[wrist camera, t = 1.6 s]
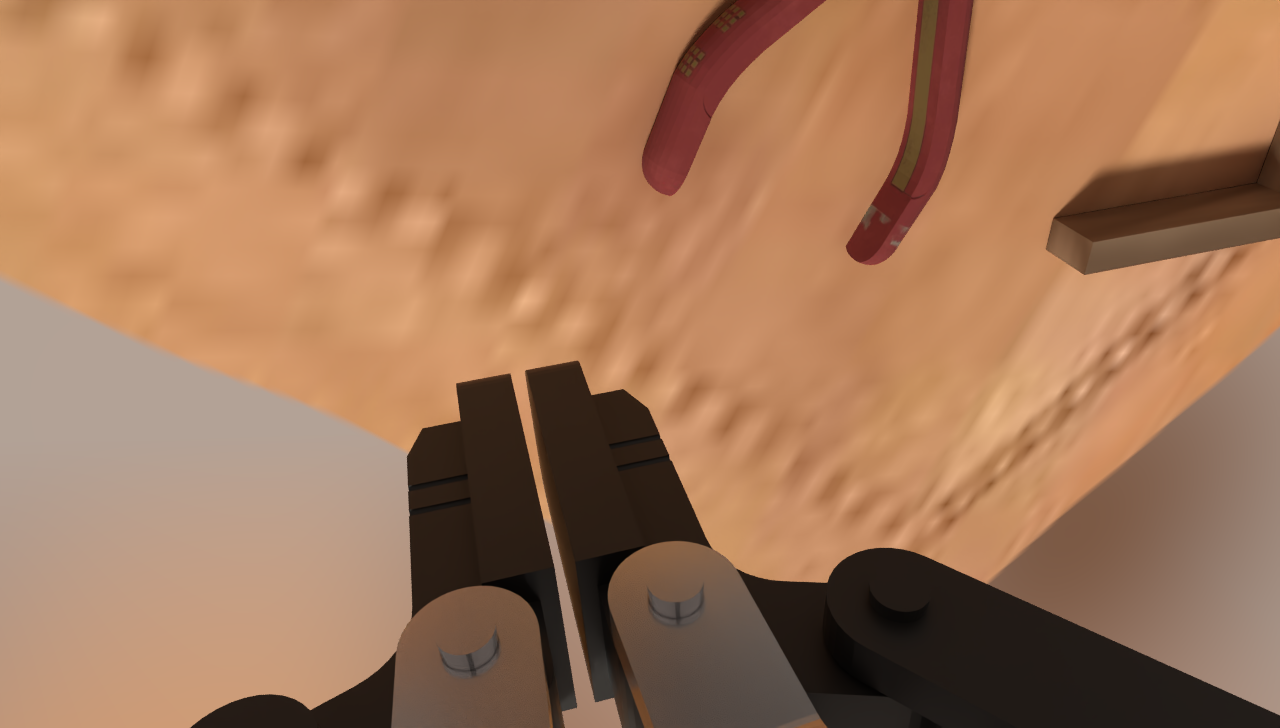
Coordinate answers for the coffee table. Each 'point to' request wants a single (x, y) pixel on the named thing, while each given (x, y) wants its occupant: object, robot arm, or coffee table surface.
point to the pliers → (754, 25)
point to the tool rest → (1172, 224)
